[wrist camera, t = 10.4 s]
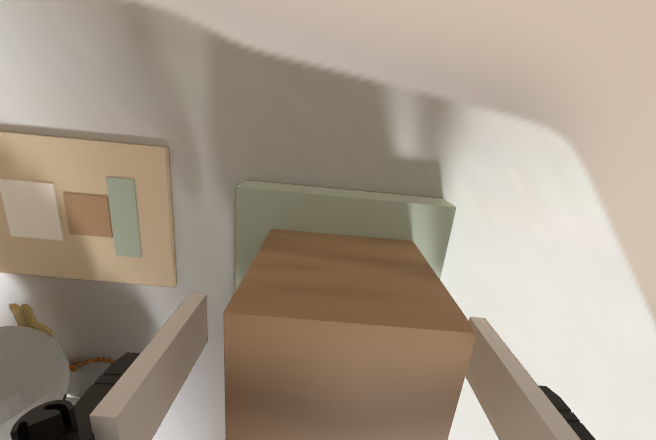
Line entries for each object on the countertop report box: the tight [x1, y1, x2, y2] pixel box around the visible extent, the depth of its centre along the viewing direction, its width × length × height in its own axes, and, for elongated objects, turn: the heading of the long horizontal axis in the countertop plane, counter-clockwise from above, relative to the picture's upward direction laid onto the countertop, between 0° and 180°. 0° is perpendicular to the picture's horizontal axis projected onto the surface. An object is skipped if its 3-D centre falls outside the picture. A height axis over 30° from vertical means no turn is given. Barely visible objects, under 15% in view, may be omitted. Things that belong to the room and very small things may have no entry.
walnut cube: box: [224, 229, 477, 440], centre depth 15 cm, size 8×8×8 cm
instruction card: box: [0, 131, 177, 287], centre depth 19 cm, size 9×13×1 cm
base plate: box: [235, 180, 456, 292], centre depth 19 cm, size 12×12×2 cm
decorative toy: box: [0, 304, 114, 440], centre depth 18 cm, size 12×10×20 cm
